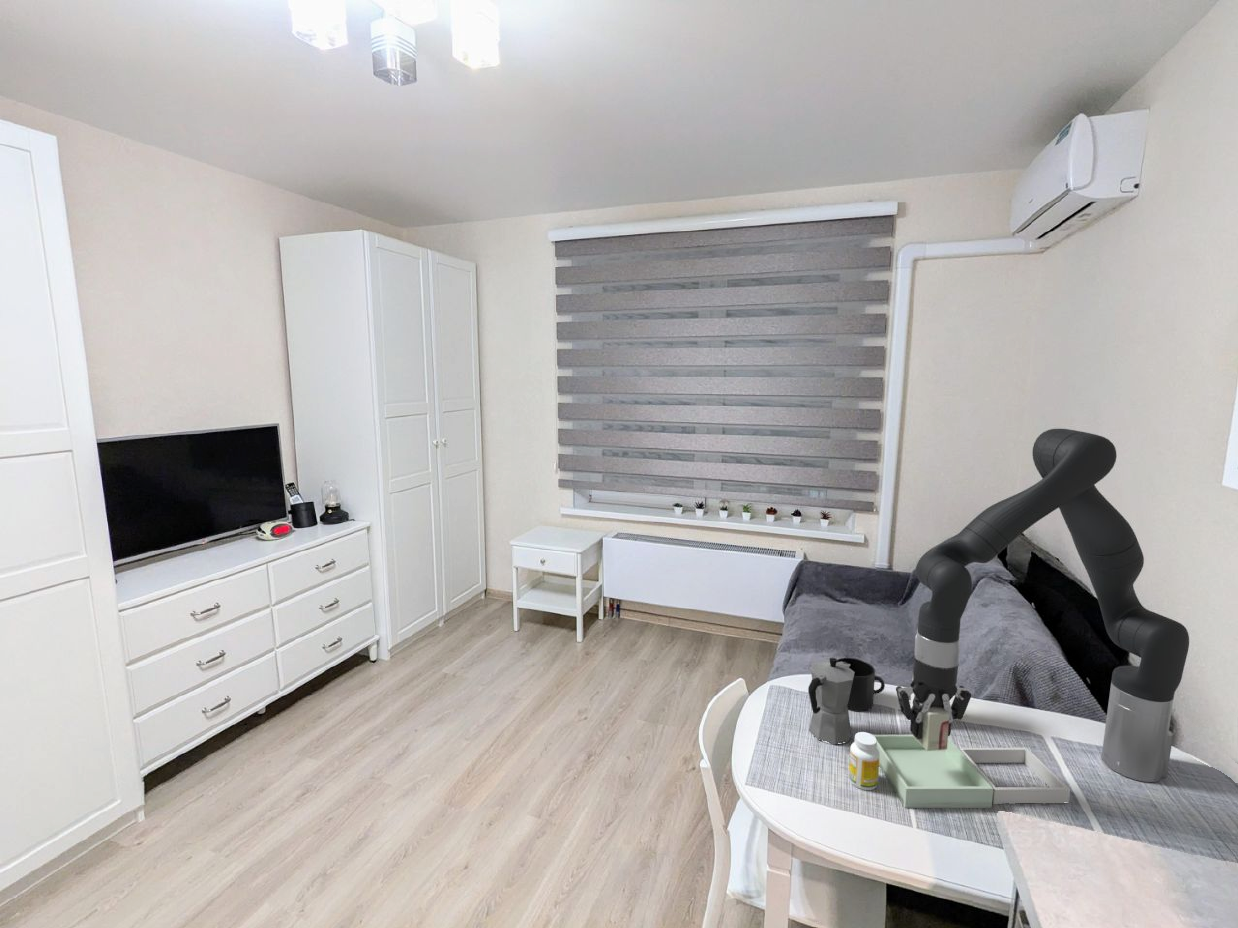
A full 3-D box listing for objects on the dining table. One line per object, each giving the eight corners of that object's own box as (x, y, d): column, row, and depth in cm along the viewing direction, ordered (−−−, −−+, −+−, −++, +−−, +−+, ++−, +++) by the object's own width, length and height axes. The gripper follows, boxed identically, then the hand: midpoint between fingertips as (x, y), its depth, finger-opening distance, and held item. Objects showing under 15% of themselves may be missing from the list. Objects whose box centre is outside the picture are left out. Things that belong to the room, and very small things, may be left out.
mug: (889, 714, 136) (891, 679, 134) (836, 709, 138) (837, 675, 136) (878, 692, 145) (880, 659, 143) (829, 688, 147) (830, 656, 145)
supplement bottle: (844, 782, 114) (846, 738, 112) (854, 768, 118) (856, 725, 116) (872, 795, 110) (874, 750, 108) (881, 780, 114) (884, 737, 112)
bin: (944, 751, 122) (946, 734, 122) (991, 807, 106) (993, 788, 106) (869, 751, 123) (870, 734, 122) (904, 807, 107) (906, 788, 106)
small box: (947, 750, 111) (951, 712, 110) (926, 751, 111) (929, 714, 109) (931, 734, 116) (934, 698, 115) (911, 735, 116) (914, 699, 114)
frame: (1024, 760, 119) (1026, 747, 119) (1068, 803, 107) (1070, 789, 107) (957, 760, 119) (958, 747, 119) (993, 803, 107) (994, 789, 107)
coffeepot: (826, 711, 137) (830, 641, 134) (864, 730, 130) (868, 656, 127) (789, 738, 127) (791, 663, 125) (827, 759, 120) (831, 680, 117)
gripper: (962, 647, 114) (955, 725, 117) (890, 647, 114) (884, 725, 117) (985, 666, 106) (977, 749, 109) (908, 666, 107) (902, 749, 109)
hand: (929, 736), depth 113 cm, fingers closed on small box, 4 cm apart
